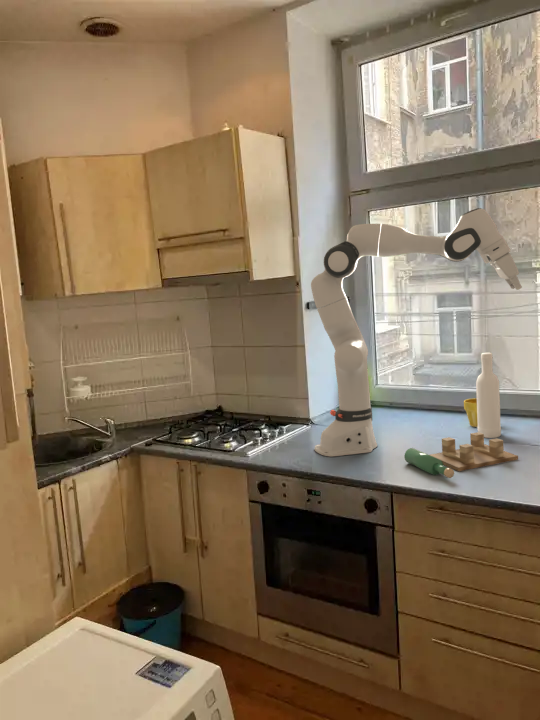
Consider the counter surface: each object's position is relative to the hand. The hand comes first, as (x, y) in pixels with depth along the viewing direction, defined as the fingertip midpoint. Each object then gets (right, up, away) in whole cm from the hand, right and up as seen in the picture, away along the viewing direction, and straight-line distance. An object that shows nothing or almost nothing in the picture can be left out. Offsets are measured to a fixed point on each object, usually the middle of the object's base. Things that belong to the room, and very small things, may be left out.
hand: (516, 288), depth 203 cm
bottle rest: (-17, -55, -6) cm, 58 cm away
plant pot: (-1, -49, +35) cm, 60 cm away
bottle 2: (-2, -51, +20) cm, 55 cm away
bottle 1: (-32, -58, -15) cm, 68 cm away
